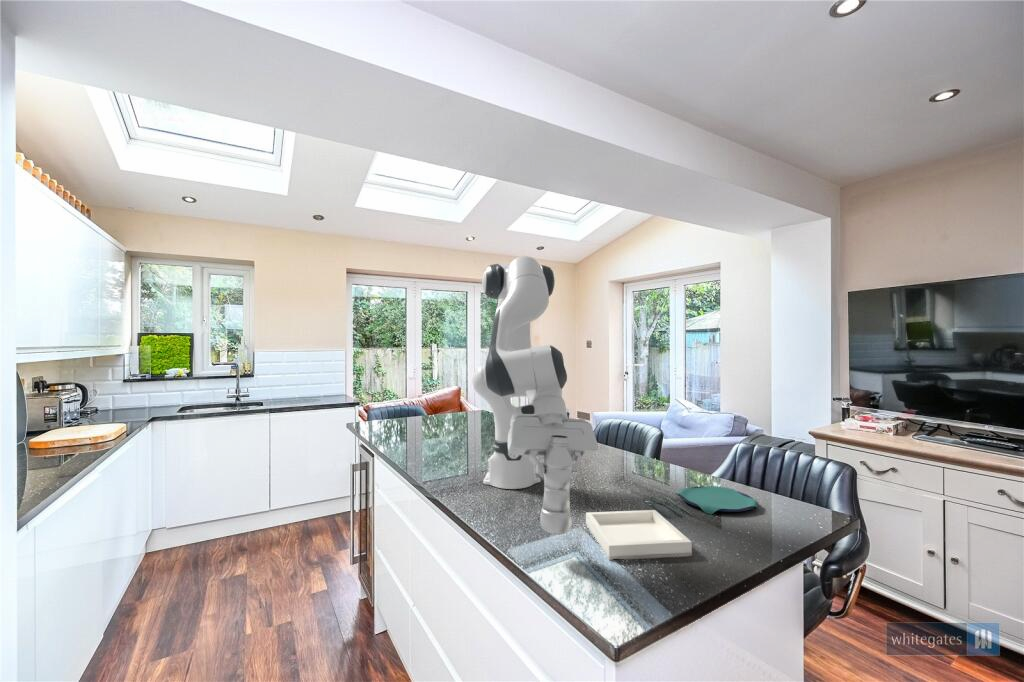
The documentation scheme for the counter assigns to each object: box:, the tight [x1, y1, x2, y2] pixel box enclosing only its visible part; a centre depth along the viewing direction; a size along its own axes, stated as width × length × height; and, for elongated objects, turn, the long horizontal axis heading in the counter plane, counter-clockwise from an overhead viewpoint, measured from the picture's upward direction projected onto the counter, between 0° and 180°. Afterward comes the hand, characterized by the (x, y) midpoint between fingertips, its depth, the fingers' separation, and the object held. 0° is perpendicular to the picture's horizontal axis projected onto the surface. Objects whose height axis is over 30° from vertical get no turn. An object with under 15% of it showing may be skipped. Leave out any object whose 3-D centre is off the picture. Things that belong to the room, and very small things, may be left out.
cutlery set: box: [645, 485, 759, 519], centre depth 121 cm, size 20×30×2 cm, turn 100°
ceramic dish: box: [585, 509, 693, 561], centre depth 99 cm, size 18×18×3 cm
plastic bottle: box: [539, 435, 575, 535], centre depth 91 cm, size 6×7×20 cm
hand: (557, 473), depth 90 cm, fingers closed on plastic bottle, 6 cm apart
